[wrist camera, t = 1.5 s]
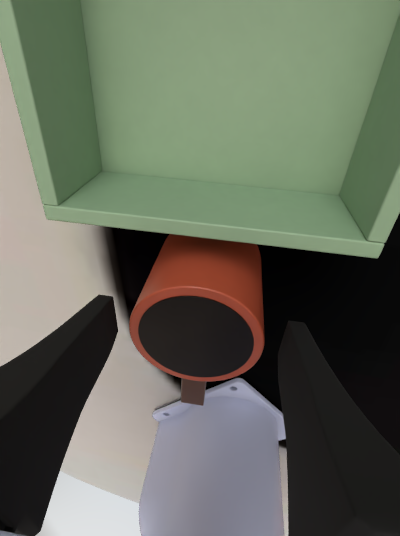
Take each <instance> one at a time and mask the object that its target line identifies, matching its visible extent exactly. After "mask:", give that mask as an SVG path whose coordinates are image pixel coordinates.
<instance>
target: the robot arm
mask: <svg viewBox="0 0 400 536" xmlns="http://www.w3.org/2000/svg"><path fill="white" fill-rule="evenodd" d="M117 332H118V327H117V320H116V313H115V307H114V300H113V297H112V296H105V295H98V296H97V297H95V298H94V299H93V300H92V301H91V302H89V303H88V304H87V305H86V306H85V307H83V308H82V309H81V310H80V311H79V312H77V313H76V314H75V315H74V316H73V317H71V318H70V319H69V320H68V321H66V322H65V323H64V324H63V325H61V326H60V327H59V328H58V329H56V330H55V331H54V332H52V333H51V334H50V335H48V336H47V337H45V338H44V339H43V340H41V341H40V342H39V343H37V344H36V345H34V346H33V347H31V348H30V349H29V350H27V351H26V352H24V353H22V354H21V355H19V356H18V357H16V358H14V359H13V360H11V361H10V362H8V363H6V364H4V365H3V366H1V367H0V536H35V535H36V534H38V533H39V532H40V531H41V528H42V524H43V521H44V518H45V515H46V511H47V508H48V505H49V502H50V499H51V495H52V492H53V489H54V486H55V483H56V480H57V477H58V474H59V471H60V468H61V465H62V462H63V459H64V457H65V454H66V451H67V448H68V446H69V443H70V440H71V438H72V435H73V432H74V430H75V427H76V424H77V422H78V419H79V417H80V414H81V412H82V409H83V407H84V405H85V403H86V401H87V399H88V397H89V395H90V393H91V391H92V389H93V387H94V385H95V383H96V381H97V379H98V377H99V375H100V373H101V371H102V369H103V367H104V365H105V363H106V361H107V359H108V357H109V355H110V352H111V350H112V347H113V344H114V341H115V338H116V335H117ZM278 381H279V389H280V397H281V404H282V412H283V413H282V412H281V411H279V410H278V409H277V408H276V407H275V406H274V405H273V404H271V403H270V402H269V401H268V400H267V399H266V398H265V397H263V396H262V395H261V394H260V393H259V392H258V391H257V390H255V389H254V388H253V387H252V386H251V385H250V384H249V383H247V382H246V381H245V380H244V379H242V378H235V379H232V380H230V381H227V382H225V383H222V384H220V385H217V386H215V387H212V388H210V389H207V390H205V398H204V405H203V406H201V405H195V404H188V403H182V402H181V400H180V401H178V402H175V403H173V404H170V405H168V406H165V407H163V408H160V409H158V410H155V411H154V412H153V415H152V417H153V418H154V419H155V420H157V421H158V422H159V425H158V429H157V433H156V437H155V441H154V445H153V449H152V453H151V457H150V461H149V465H148V469H147V473H146V477H145V481H144V485H143V489H142V493H141V497H140V503H139V524H140V531H141V535H142V536H284V521H283V506H282V491H281V476H280V461H279V445H278V441H279V440H283V439H286V445H287V470H288V522H289V536H400V455H399V454H398V453H397V452H396V451H395V450H394V449H393V448H392V446H391V445H390V444H389V443H388V442H387V441H386V440H385V439H384V438H383V437H382V436H381V435H380V433H379V432H378V431H377V430H376V429H375V428H374V426H373V425H372V424H371V423H370V422H369V420H368V419H367V418H366V417H365V416H364V414H363V413H362V412H361V411H360V409H359V408H358V407H357V405H356V404H355V403H354V402H353V400H352V399H351V397H350V396H349V395H348V393H347V392H346V390H345V389H344V388H343V386H342V385H341V383H340V382H339V380H338V379H337V377H336V376H335V374H334V373H333V371H332V370H331V368H330V366H329V365H328V363H327V362H326V360H325V358H324V357H323V355H322V353H321V352H320V350H319V348H318V346H317V345H316V343H315V341H314V339H313V337H312V336H311V334H310V332H309V330H308V328H307V326H306V324H305V323H303V322H296V321H288V323H287V327H286V330H285V333H284V336H283V339H282V342H281V346H280V349H279V352H278Z"/></svg>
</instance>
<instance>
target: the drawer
mask: <svg viewBox="0 0 400 536" xmlns="http://www.w3.org/2000/svg"><path fill="white" fill-rule="evenodd" d="M0 43H1V47H2V51H3V55H4V58H5V62H6V66H7V70H8V74H9V78H10V81H11V85H12V89H13V93H14V97H15V101H16V104H17V108H18V112H19V116H20V120H21V124H22V127H23V131H24V135H25V139H26V143H27V147H28V150H29V154H30V158H31V162H32V166H33V169H34V173H35V177H36V181H37V185H38V189H39V192H40V196H41V200H42V203H43V204H44V205H43V207H44V211H45V215H46V218H47V219H48V220H55V221H64V222H72V223H81V224H89V225H98V226H106V227H115V228H123V229H132V230H140V231H149V232H157V233H166V234H174V235H183V236H191V237H200V238H208V239H217V240H225V241H234V242H242V243H251V244H259V245H268V246H276V247H285V248H293V249H302V250H310V251H319V252H327V253H336V254H344V255H353V256H361V257H370V258H378V257H379V255H380V253H381V251H382V249H383V247H384V243H385V242H386V240H387V238H388V236H389V234H390V232H391V230H392V227H393V225H394V223H395V221H396V219H397V217H398V215H399V213H400V0H0Z"/></svg>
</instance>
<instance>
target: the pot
mask: <svg viewBox="0 0 400 536" xmlns="http://www.w3.org/2000/svg"><path fill="white" fill-rule="evenodd" d="M129 329H130V335H131V338H132V341H133V343H134V345H135V347H136V348H137V350H138V351H139V352H140V354H141V355H142V356H143V357H144V358H145V359H146V360H148V361H149V362H150V363H151V364H153V365H154V366H156V367H157V368H159V369H161V370H162V371H164V372H167V373H169V374H171V375H174V376H177V377H180V378H182V382H181V402H182V403H188V404H195V405H201V406H203V405H204V398H205V390H206V381H220V380H225V379H230V378H233V377H236V376H238V375H240V374H242V373H244V372H246V371H247V370H249V369H250V368H251V367H252V366H253V365H254V364H255V363H256V362H257V361H258V359H259V358H260V356H261V354H262V351H263V349H264V317H263V293H262V269H261V255H260V251H259V248H258V246H257V244H251V243H242V242H234V241H225V240H217V239H208V238H200V237H191V236H183V235H174V234H169V235H168V237H167V238H166V240H165V242H164V244H163V246H162V249H161V251H160V253H159V255H158V257H157V259H156V262H155V264H154V266H153V268H152V270H151V272H150V275H149V277H148V279H147V281H146V283H145V285H144V288H143V290H142V292H141V294H140V296H139V298H138V301H137V303H136V305H135V307H134V309H133V311H132V314H131V317H130V322H129Z"/></svg>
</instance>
